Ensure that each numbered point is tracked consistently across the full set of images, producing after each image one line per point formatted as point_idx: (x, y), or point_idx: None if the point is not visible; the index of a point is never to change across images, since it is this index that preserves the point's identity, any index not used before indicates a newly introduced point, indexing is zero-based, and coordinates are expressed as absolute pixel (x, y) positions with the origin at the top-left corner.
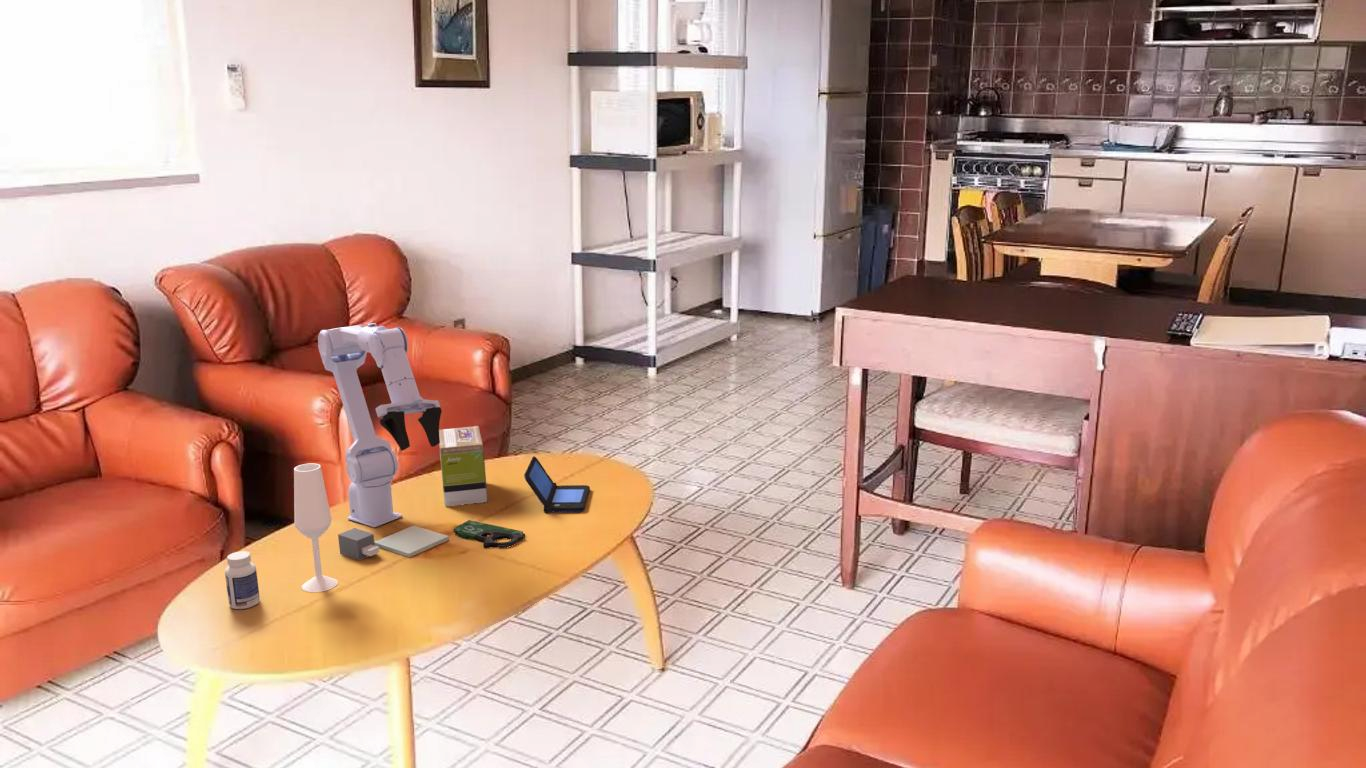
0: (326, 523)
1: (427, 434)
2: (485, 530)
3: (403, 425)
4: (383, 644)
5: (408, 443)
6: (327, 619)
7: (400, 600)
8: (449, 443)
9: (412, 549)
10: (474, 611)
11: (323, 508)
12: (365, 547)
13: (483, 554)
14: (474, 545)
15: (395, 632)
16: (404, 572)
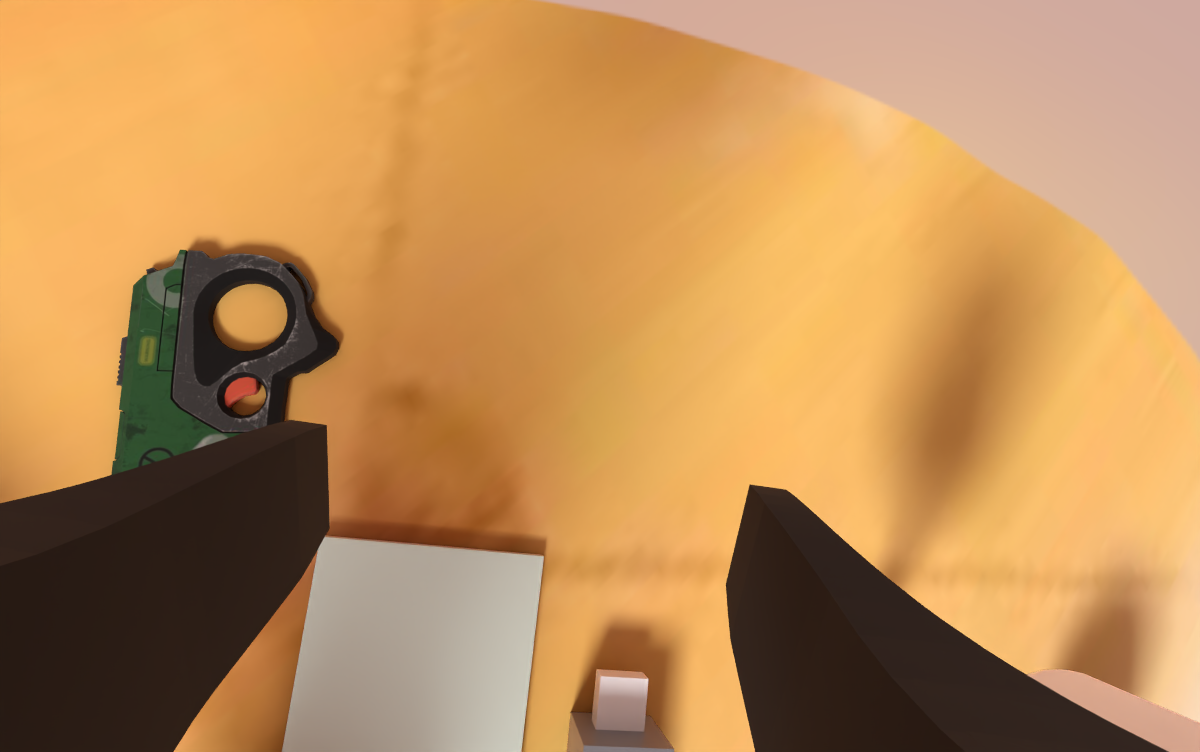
0: (1057, 672)
1: (227, 653)
2: (200, 427)
3: (899, 642)
4: (998, 207)
5: (775, 495)
6: (992, 445)
7: (808, 337)
8: None
9: (505, 574)
10: (753, 99)
11: (1143, 709)
12: (630, 723)
13: (393, 314)
14: (331, 400)
15: (943, 221)
16: (651, 473)
